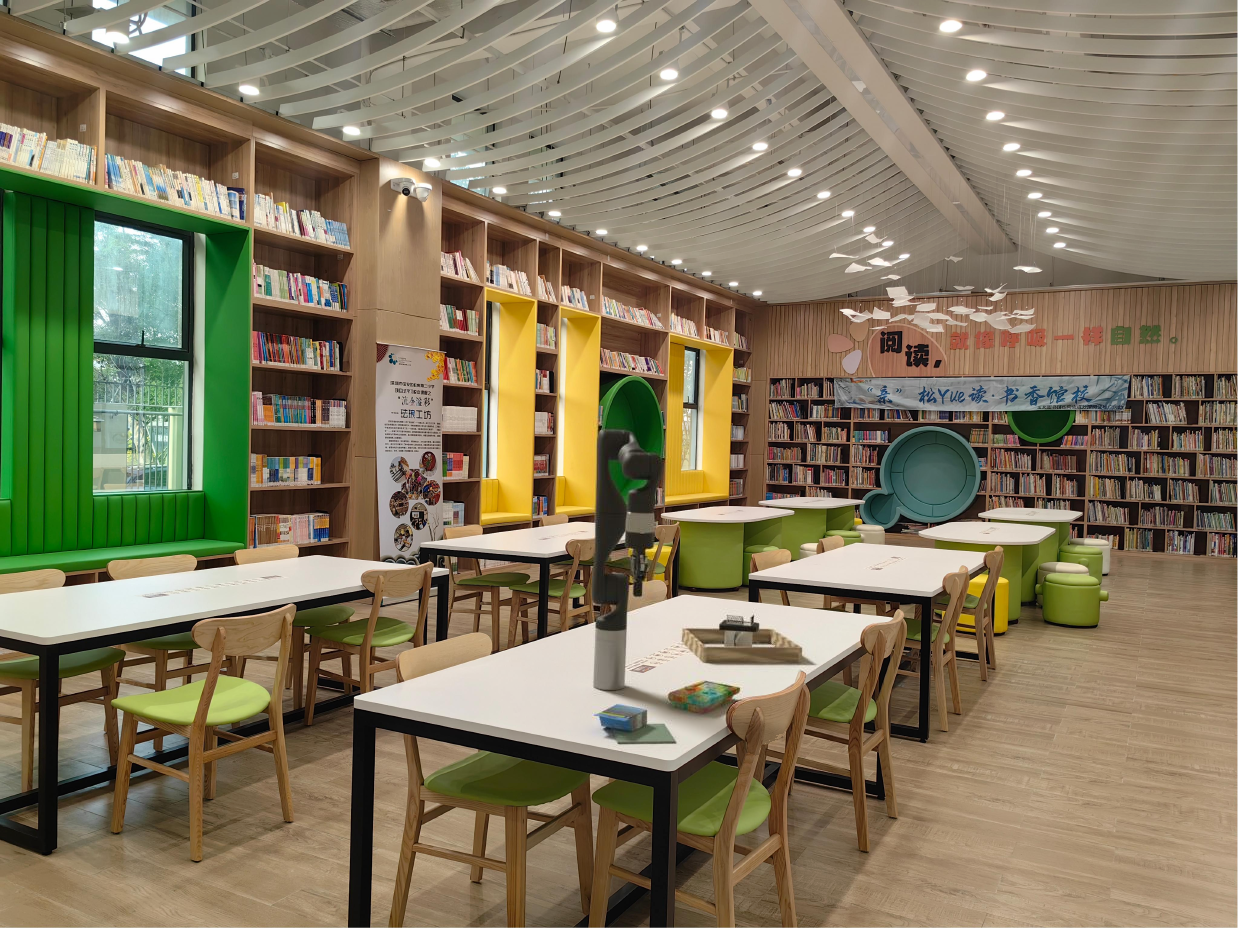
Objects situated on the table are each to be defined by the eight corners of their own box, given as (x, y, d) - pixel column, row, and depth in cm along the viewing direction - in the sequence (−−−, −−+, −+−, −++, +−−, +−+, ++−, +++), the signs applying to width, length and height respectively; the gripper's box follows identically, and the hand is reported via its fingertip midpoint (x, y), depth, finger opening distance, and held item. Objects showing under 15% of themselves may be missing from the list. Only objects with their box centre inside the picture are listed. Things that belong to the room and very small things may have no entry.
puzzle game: (668, 690, 245) (703, 677, 262) (667, 707, 245) (703, 693, 262) (706, 698, 238) (740, 684, 255) (705, 716, 239) (739, 700, 255)
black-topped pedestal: (691, 655, 311) (693, 617, 311) (707, 641, 336) (708, 605, 336) (773, 664, 303) (774, 624, 303) (782, 648, 328) (784, 612, 328)
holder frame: (681, 641, 332) (682, 628, 332) (771, 642, 337) (772, 628, 337) (702, 662, 300) (703, 647, 300) (801, 662, 305) (802, 647, 305)
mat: (609, 725, 226) (609, 723, 226) (664, 724, 228) (664, 723, 228) (617, 743, 212) (617, 741, 212) (675, 742, 215) (675, 741, 215)
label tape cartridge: (616, 718, 231) (592, 730, 220) (616, 703, 231) (592, 714, 220) (647, 724, 227) (624, 736, 216) (647, 708, 227) (624, 720, 216)
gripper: (621, 526, 239) (619, 591, 240) (629, 532, 226) (627, 600, 227) (649, 527, 240) (647, 591, 241) (659, 532, 227) (656, 601, 228)
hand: (637, 596), depth 234 cm, fingers closed
